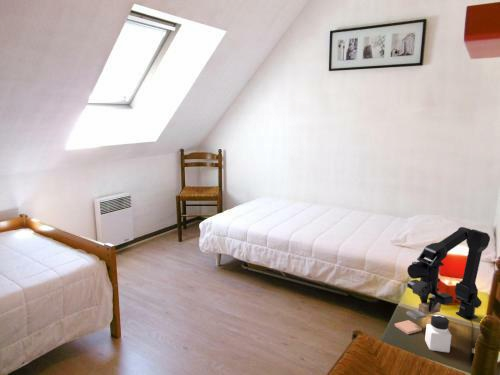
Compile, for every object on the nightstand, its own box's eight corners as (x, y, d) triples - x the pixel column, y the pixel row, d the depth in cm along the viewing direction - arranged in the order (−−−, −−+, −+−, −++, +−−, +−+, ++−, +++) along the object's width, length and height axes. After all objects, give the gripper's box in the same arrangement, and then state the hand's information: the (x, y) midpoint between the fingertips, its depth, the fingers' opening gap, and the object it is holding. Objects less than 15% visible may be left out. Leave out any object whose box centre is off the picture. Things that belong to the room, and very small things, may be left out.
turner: (432, 307, 163) (433, 299, 162) (442, 312, 158) (443, 304, 158) (406, 313, 156) (407, 305, 156) (415, 319, 152) (416, 310, 151)
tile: (408, 320, 159) (394, 323, 156) (422, 328, 153) (407, 331, 150) (408, 323, 159) (394, 327, 156) (421, 331, 153) (407, 335, 150)
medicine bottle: (449, 353, 138) (453, 323, 136) (429, 350, 139) (432, 320, 137) (443, 342, 145) (447, 314, 143) (424, 339, 146) (427, 311, 144)
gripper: (399, 270, 160) (396, 303, 163) (436, 287, 144) (432, 324, 146) (418, 267, 165) (414, 299, 168) (456, 283, 148) (451, 319, 151)
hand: (427, 310), depth 158 cm, fingers closed on turner, 3 cm apart
